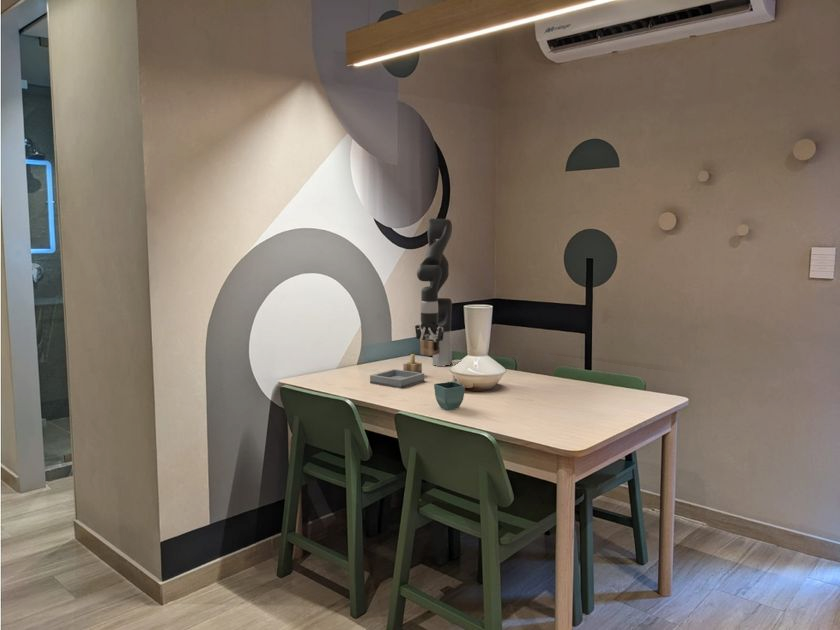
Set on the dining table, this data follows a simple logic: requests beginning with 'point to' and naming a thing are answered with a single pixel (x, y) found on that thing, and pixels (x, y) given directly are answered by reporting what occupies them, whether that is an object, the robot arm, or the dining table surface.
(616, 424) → the dining table surface
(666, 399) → the dining table surface
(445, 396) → the flower pot
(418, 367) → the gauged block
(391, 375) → the tray
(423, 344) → the bored block
